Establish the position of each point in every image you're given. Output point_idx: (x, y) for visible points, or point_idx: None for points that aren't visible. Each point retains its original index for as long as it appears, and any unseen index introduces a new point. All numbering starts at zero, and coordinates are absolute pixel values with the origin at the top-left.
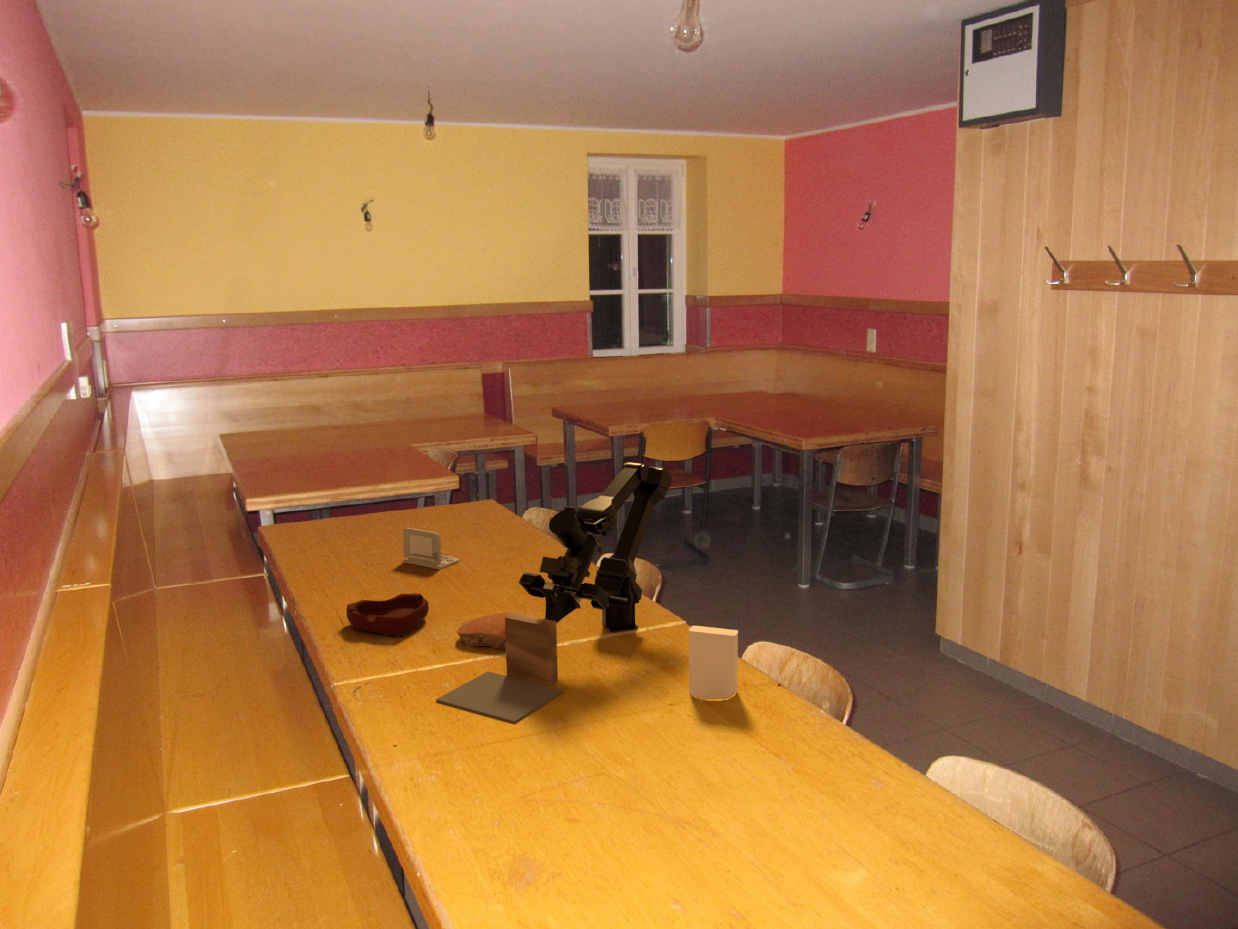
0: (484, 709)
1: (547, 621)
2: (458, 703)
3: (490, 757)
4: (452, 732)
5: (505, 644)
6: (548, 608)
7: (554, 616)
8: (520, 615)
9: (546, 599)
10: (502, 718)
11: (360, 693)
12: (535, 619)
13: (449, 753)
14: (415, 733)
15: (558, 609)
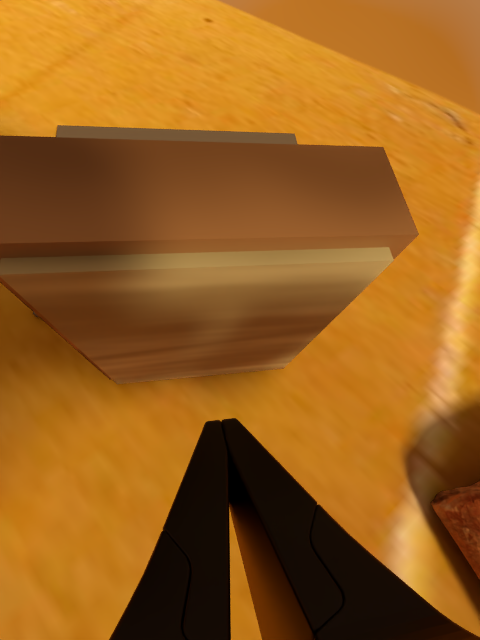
0: (164, 138)
1: (43, 207)
2: (238, 137)
3: (22, 33)
4: (157, 69)
5: (477, 483)
6: (294, 526)
7: (180, 494)
8: (335, 212)
9: (438, 630)
10: (97, 128)
11: (432, 111)
12: (172, 200)
13: (105, 25)
14: (214, 50)
15: (147, 572)
